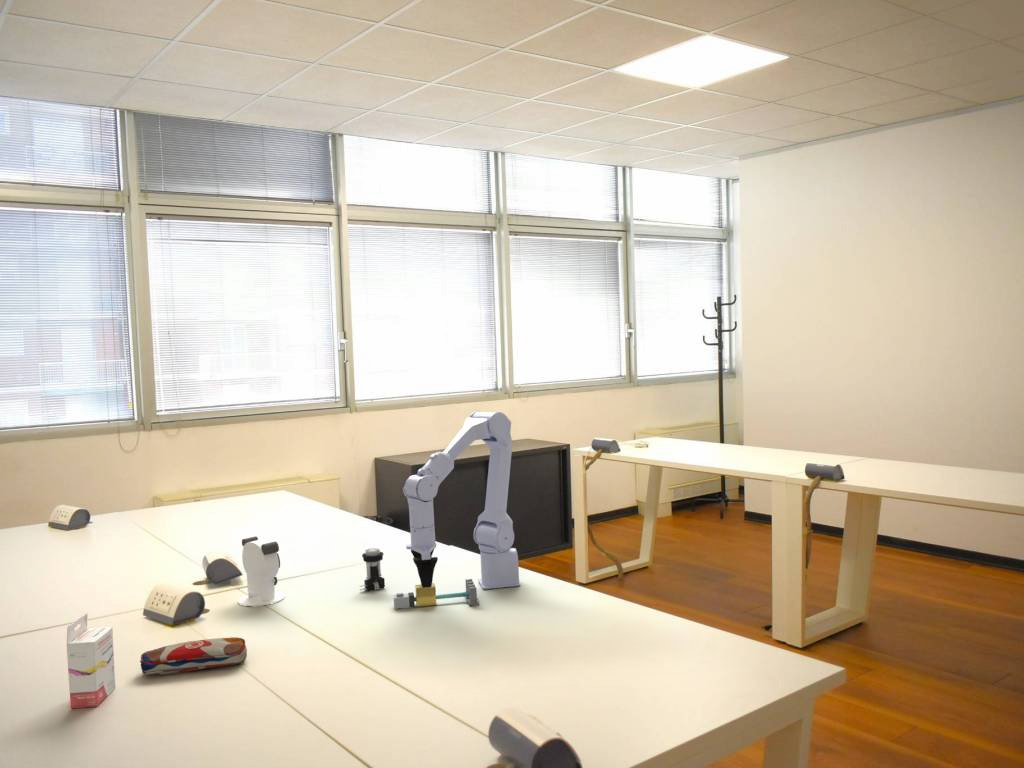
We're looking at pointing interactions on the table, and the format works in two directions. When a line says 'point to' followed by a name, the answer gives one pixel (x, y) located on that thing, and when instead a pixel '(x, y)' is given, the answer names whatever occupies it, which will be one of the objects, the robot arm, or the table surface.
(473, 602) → the cable comb
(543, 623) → the table surface
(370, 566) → the push button
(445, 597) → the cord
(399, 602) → the connector
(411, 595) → the band
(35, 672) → the table surface
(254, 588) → the panda figurine
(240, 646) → the pencil case
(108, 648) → the ink cartridge box
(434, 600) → the marker sleeve
